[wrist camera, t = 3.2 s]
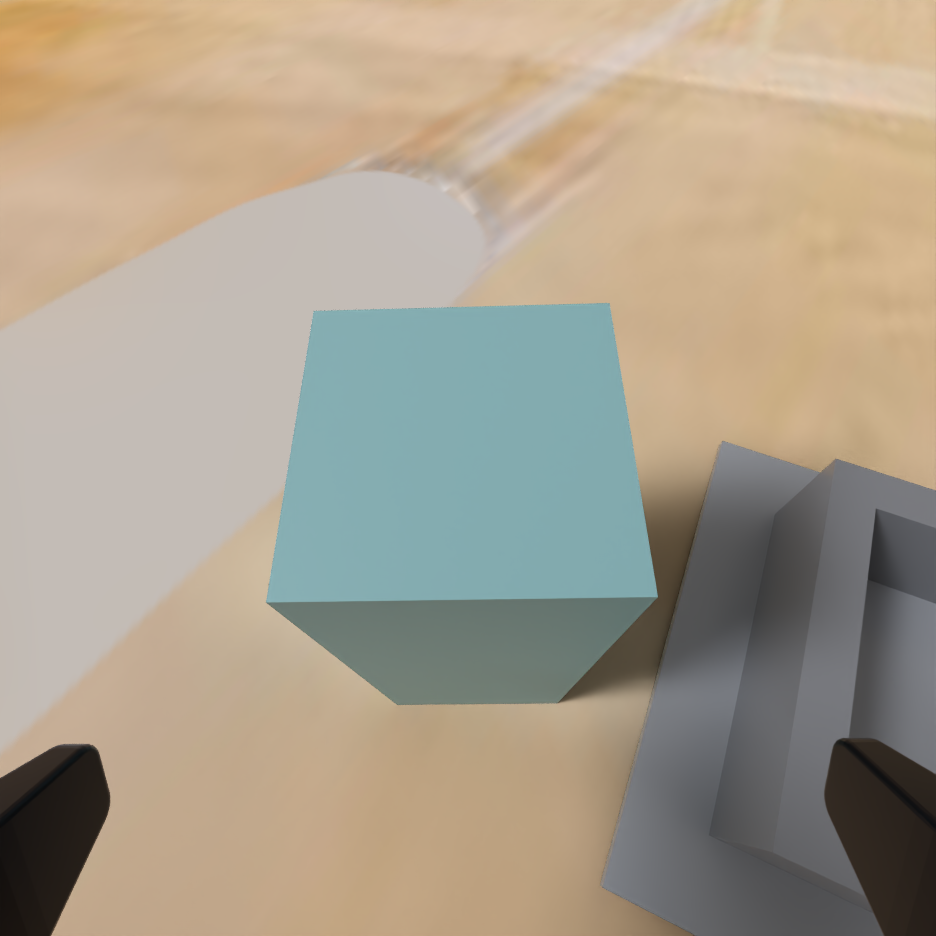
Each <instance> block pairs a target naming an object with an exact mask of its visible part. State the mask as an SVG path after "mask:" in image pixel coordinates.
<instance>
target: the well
mask: <svg viewBox="0 0 936 936" xmlns="http://www.w3.org/2000/svg"><path fill="white" fill-rule="evenodd" d="M841 738H874V739H877V740H879V741H881V742H883V743H884V744H886V745H888V746H889V747H891V748H893V749H894V750H896V751H898V752H899V753H901V754H903V755H905V756H906V757H908V758H910V759H911V760H913V761H915V762H916V763H918V764H920V765H921V766H923V767H925V768H926V769H928V770H930V771H932V772H933V773H935V774H936V491H935V490H932V489H929V488H926V487H923V486H920V485H917V484H914V483H910V482H907V481H904V480H901V479H898V478H895V477H892V476H888V475H885V474H882V473H879V472H876V471H873V470H870V469H867V468H863V467H860V466H857V465H854V464H851V463H848V462H845V461H841V460H838V459H835V460H834V461H833V462H832V463H830V464H829V465H828V466H827V467H826V468H825V469H824V470H823V471H822V472H821V473H820V472H817V471H813V470H810V469H807V468H804V467H801V466H798V465H795V464H792V463H789V462H786V461H783V460H780V459H777V458H774V457H771V456H767V455H764V454H761V453H758V452H755V451H752V450H749V449H746V448H743V447H740V446H737V445H734V444H731V443H728V442H725V441H722V442H721V444H720V445H719V447H718V451H717V455H716V458H715V462H714V466H713V470H712V473H711V477H710V481H709V484H708V488H707V492H706V495H705V499H704V503H703V506H702V510H701V514H700V517H699V521H698V525H697V529H696V532H695V536H694V540H693V543H692V547H691V551H690V554H689V558H688V562H687V565H686V569H685V573H684V576H683V580H682V584H681V588H680V591H679V595H678V599H677V602H676V606H675V610H674V613H673V617H672V621H671V624H670V628H669V632H668V636H667V639H666V643H665V647H664V650H663V654H662V658H661V661H660V665H659V669H658V672H657V676H656V680H655V683H654V687H653V691H652V695H651V698H650V702H649V706H648V709H647V713H646V717H645V720H644V724H643V728H642V731H641V735H640V739H639V742H638V746H637V750H636V754H635V757H634V761H633V765H632V768H631V772H630V776H629V779H628V783H627V787H626V790H625V794H624V798H623V802H622V805H621V809H620V813H619V816H618V820H617V824H616V827H615V831H614V835H613V838H612V842H611V846H610V849H609V853H608V857H607V861H606V864H605V868H604V872H603V875H602V879H601V883H600V886H601V887H602V888H604V889H606V890H608V891H610V892H612V893H614V894H616V895H618V896H620V897H622V898H624V899H626V900H628V901H630V902H631V903H633V904H635V905H637V906H639V907H641V908H643V909H645V910H647V911H649V912H651V913H653V914H655V915H657V916H659V917H661V918H662V919H664V920H666V921H668V922H670V923H672V924H674V925H676V926H678V927H680V928H682V929H684V930H686V931H688V932H690V933H692V934H693V935H695V936H884V935H883V933H882V931H881V929H880V927H879V924H878V922H877V920H876V918H875V916H874V913H873V911H872V909H871V907H870V905H869V902H868V900H867V898H866V896H865V894H864V891H863V889H862V887H861V885H860V883H859V881H858V878H857V876H856V874H855V872H854V870H853V867H852V865H851V863H850V861H849V859H848V856H847V854H846V852H845V850H844V848H843V845H842V843H841V841H840V839H839V837H838V835H837V832H836V830H835V828H834V826H833V824H832V821H831V819H830V817H829V814H828V812H827V809H826V805H825V800H824V788H825V783H826V778H827V773H828V768H829V763H830V758H831V753H832V748H833V745H834V743H835V742H836V741H837V740H838V739H841Z"/></svg>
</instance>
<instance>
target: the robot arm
mask: <svg viewBox="0 0 936 936" xmlns="http://www.w3.org/2000/svg"><path fill="white" fill-rule="evenodd" d="M824 800H825V805H826V809H827V812H828V814H829V817H830V819H831V821H832V824H833V826H834V828H835V830H836V832H837V835H838V837H839V839H840V841H841V843H842V845H843V848H844V850H845V852H846V854H847V856H848V859H849V861H850V863H851V865H852V867H853V870H854V872H855V874H856V876H857V878H858V881H859V883H860V885H861V887H862V889H863V891H864V894H865V896H866V898H867V900H868V902H869V905H870V907H871V909H872V911H873V913H874V916H875V918H876V920H877V922H878V924H879V927H880V929H881V931H882V933H883V935H884V936H936V774H935V773H933V772H932V771H930V770H928V769H926V768H925V767H923V766H921V765H920V764H918V763H916V762H915V761H913V760H911V759H910V758H908V757H906V756H905V755H903V754H901V753H899V752H898V751H896V750H894V749H893V748H891V747H889V746H888V745H886V744H884V743H883V742H881V741H879V740H877V739H874V738H841V739H838V740H837V741H836V742H835V743H834V745H833V748H832V753H831V758H830V763H829V768H828V773H827V778H826V783H825V788H824ZM109 807H110V792H109V788H108V784H107V780H106V777H105V773H104V769H103V765H102V762H101V758H100V754H99V752H98V750H97V749H96V748H95V747H94V746H93V745H90V744H63V745H58V746H55V747H53V748H51V749H49V750H48V751H46V752H44V753H42V754H41V755H39V756H37V757H36V758H34V759H32V760H30V761H29V762H27V763H25V764H24V765H22V766H20V767H18V768H17V769H15V770H13V771H12V772H10V773H8V774H7V775H5V776H3V777H1V778H0V936H51V935H52V933H53V930H54V928H55V926H56V924H57V922H58V920H59V918H60V916H61V913H62V911H63V909H64V907H65V905H66V903H67V901H68V899H69V896H70V894H71V892H72V890H73V888H74V886H75V884H76V882H77V879H78V877H79V875H80V873H81V871H82V869H83V867H84V865H85V862H86V860H87V858H88V856H89V854H90V852H91V850H92V848H93V845H94V843H95V841H96V839H97V837H98V835H99V833H100V831H101V828H102V826H103V824H104V822H105V820H106V817H107V815H108V811H109Z"/></svg>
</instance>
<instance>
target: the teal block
mask: <svg viewBox="0 0 936 936" xmlns="http://www.w3.org/2000/svg"><path fill="white" fill-rule="evenodd" d="M657 597H658V595H657V589H656V583H655V577H654V571H653V564H652V558H651V552H650V546H649V540H648V534H647V528H646V522H645V516H644V510H643V504H642V498H641V492H640V486H639V480H638V474H637V468H636V462H635V456H634V449H633V443H632V437H631V431H630V425H629V419H628V413H627V407H626V401H625V395H624V389H623V383H622V377H621V371H620V365H619V359H618V353H617V347H616V341H615V334H614V328H613V322H612V316H611V310H610V304H609V303H597V304H559V305H522V306H484V307H447V308H411V309H410V308H409V309H371V310H337V311H314V313H313V319H312V325H311V331H310V338H309V344H308V350H307V356H306V362H305V368H304V375H303V380H302V386H301V393H300V399H299V405H298V411H297V417H296V423H295V429H294V435H293V441H292V448H291V454H290V460H289V466H288V472H287V478H286V484H285V490H284V496H283V503H282V509H281V515H280V521H279V527H278V533H277V539H276V545H275V551H274V558H273V564H272V570H271V576H270V582H269V588H268V594H267V600H266V603H267V604H269V605H270V606H271V607H273V608H274V609H275V610H276V611H278V612H279V613H280V614H282V615H283V616H284V617H285V618H287V619H288V620H289V621H290V622H292V623H293V624H294V625H296V626H297V627H298V628H299V629H301V630H302V631H303V632H305V633H306V634H307V635H308V636H310V637H311V638H312V639H314V640H315V641H316V642H317V643H319V644H320V645H321V646H323V647H324V648H325V649H326V650H328V651H329V652H330V653H331V654H333V655H334V656H335V657H337V658H338V659H339V660H340V661H342V662H343V663H344V664H346V665H347V666H348V667H349V668H351V669H352V670H353V671H355V672H356V673H357V674H358V675H360V676H361V677H362V678H364V679H365V680H366V681H367V682H369V683H370V684H371V685H372V686H374V687H375V688H376V689H378V690H379V691H380V692H381V693H383V694H384V695H385V696H387V697H388V698H389V699H390V700H392V701H393V702H394V703H396V704H397V705H423V704H531V703H558V702H559V701H560V700H561V699H562V698H563V697H564V696H565V694H566V693H567V692H568V691H569V690H570V689H571V688H572V687H573V686H574V685H575V684H576V683H577V682H578V681H579V680H580V679H581V678H582V677H583V675H584V674H585V673H586V672H587V671H588V670H589V669H590V668H591V667H592V666H593V665H594V664H595V663H596V662H597V661H598V660H599V659H600V658H601V657H602V655H603V654H604V653H605V652H606V651H607V650H608V649H609V648H610V647H611V646H612V645H613V644H614V643H615V642H616V641H617V640H618V639H619V638H620V636H621V635H622V634H623V633H624V632H625V631H626V630H627V629H628V628H629V627H630V626H631V625H632V624H633V623H634V622H635V621H636V620H637V619H638V618H639V616H640V615H641V614H642V613H643V612H644V611H645V610H646V609H647V608H648V607H649V606H650V605H651V604H652V603H653V602H654V601H655V600H656V599H657Z"/></svg>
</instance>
